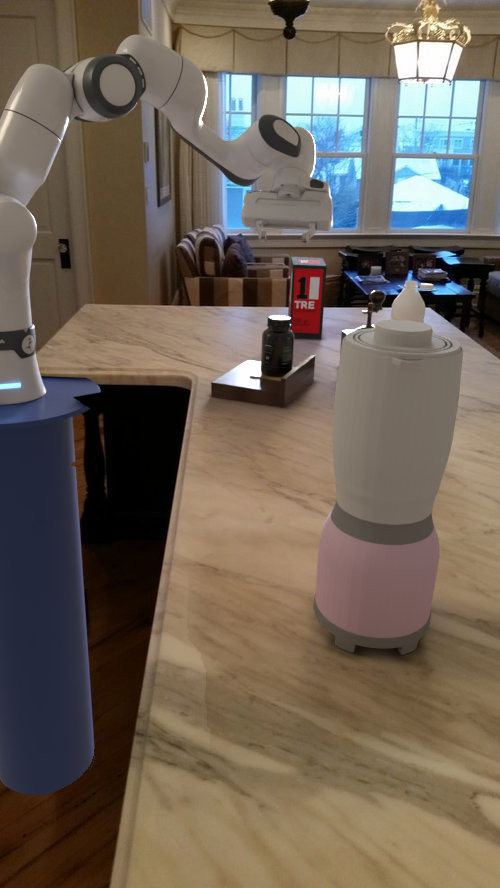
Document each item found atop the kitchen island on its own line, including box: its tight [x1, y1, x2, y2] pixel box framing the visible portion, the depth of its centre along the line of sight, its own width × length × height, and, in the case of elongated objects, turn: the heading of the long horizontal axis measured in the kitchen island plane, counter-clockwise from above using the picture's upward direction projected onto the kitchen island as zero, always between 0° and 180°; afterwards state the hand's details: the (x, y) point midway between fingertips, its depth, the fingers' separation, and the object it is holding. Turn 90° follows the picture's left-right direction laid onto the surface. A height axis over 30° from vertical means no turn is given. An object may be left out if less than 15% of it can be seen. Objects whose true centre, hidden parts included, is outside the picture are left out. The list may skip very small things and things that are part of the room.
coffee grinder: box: [339, 289, 387, 355], centre depth 163 cm, size 16×11×18 cm
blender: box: [313, 319, 464, 656], centre depth 71 cm, size 16×12×32 cm
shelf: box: [210, 354, 316, 408], centre depth 150 cm, size 16×20×6 cm
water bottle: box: [389, 279, 435, 323], centre depth 139 cm, size 9×6×25 cm
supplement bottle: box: [260, 314, 295, 377], centre depth 149 cm, size 7×7×12 cm
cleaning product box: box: [287, 256, 327, 340], centre depth 199 cm, size 16×9×20 cm, turn 179°
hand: (283, 241), depth 153 cm, fingers open, 8 cm apart
